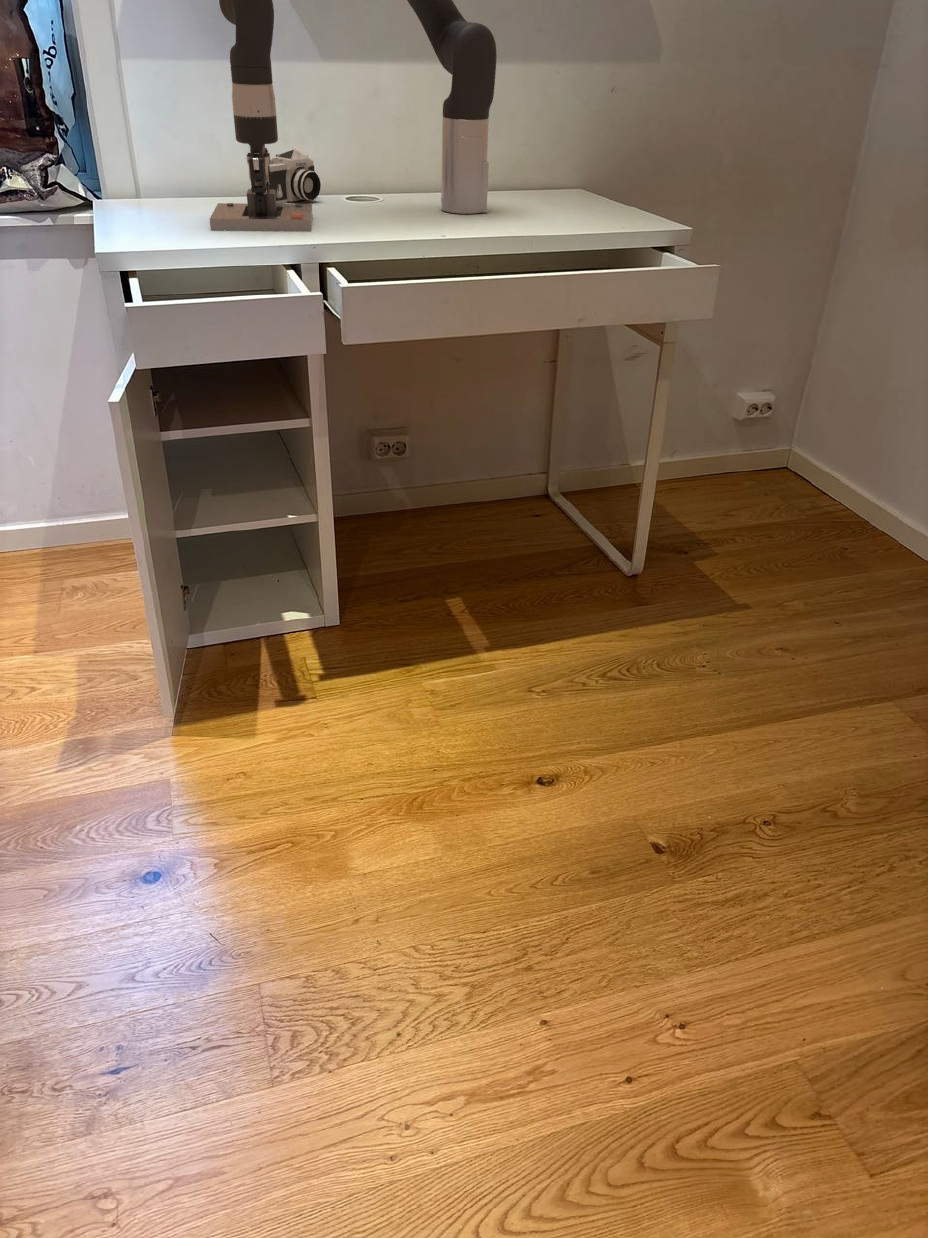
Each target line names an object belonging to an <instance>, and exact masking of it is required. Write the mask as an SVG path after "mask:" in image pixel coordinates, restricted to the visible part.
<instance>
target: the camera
mask: <svg viewBox="0 0 928 1238" xmlns="http://www.w3.org/2000/svg"><path fill="white" fill-rule="evenodd" d="M269 165H270V181H269V183H270V186H269V188H267V189H269V190H276V204H289V203H293V202H298V201H307V202H310V201H311V202H312V201H314V200H316V199H317V197H318V196H319V195H320V192H321V186H322V184H321V178H320V177H319V175H318V174H317V172H315V165H314V159H313V158H309V155H308V154H303V153H302V152H301V151H299V150H297V149H296V148H295V149H291V150H289V151H286V152H282V153H280V154H279V153H278V154H275V157H273V158H270V164H269Z"/></svg>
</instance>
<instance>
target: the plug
mask: <svg viewBox="0 0 928 1238" xmlns="http://www.w3.org/2000/svg"><path fill="white" fill-rule="evenodd" d="M255 185H256V186H262V182H256V183H255ZM266 196H267V209H268V216H267V217H277V204H276V190H267V195H266ZM246 201H247V203H246V204H248V214H249V216H256V213H255V202H254V195H253V193H252V191H251V188H248V189H247V192H246Z"/></svg>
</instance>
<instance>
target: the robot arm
mask: <svg viewBox="0 0 928 1238" xmlns="http://www.w3.org/2000/svg"><path fill="white" fill-rule="evenodd" d="M218 1H219V3H218V4H219V9H220V11H221V13H222V15H223V17H224V18H225V19H226V20H227V21H228V22H229V23H230V24H232V25H235V42H234V44H233V45H232V46H231V48H230V51H229V64H230V75H231V76H230V77H231V86H232V88H231V89H232V90H231V103H232V111H233V114H232V115H233V122H234V123H233V125H234V133H235V140H236V142H238V143H240V144H245V145H248V146H249V148H250V149H249V150H250V151H249V152H247V154H246V162H247V166H248V177H249V182H250V183H251V184H250V185H251V187H250V189H251V191H252V193H253V195H254V202H255V213H256V216H264V217H267V216H268V209H267V196H266V195H267V190H269V189H267V188H269V186H270V183H269V181H270V165H269V164H270V159H271V153H270V152H269V150H268V148H267V147H266V145H271V144H275V143H277V142H278V141H279V136H278V135H279V134H278V133H279V132H278V122H277V121H278V120H277V117H278V116H277V106H276V97H275V96H276V95H275V91H274V86H273V83H274V82H273V71H272V60H271V51H272V45H273V38H274V37H273V35H274V27H275V26H274V23H275V9H274V1H273V0H218ZM406 1H407V2H408V4H409V6H410V7H411V9H412V10H413V11H414V13H415V15H416V16H417V18H418V20H419V22H420V24H421V26H422V28H423V30H424V31H425V34H426V36H427V39H428V41H429V42H430V45H431V47H432V50H433V51H434V53H435V55H436V57H437V59H438V61H439V63H440V65H441V66H442V68H444V70H445V71H446V72H447V73H449V74H450V75H452V76H451V88H450V92H449V94H448V97H447V98H445V99H444V101H443V103H442V123H441V124H442V128H441V129H442V132H441V133H442V134H441V192H440V193H441V196H440V201H441V202H440V208H441V211H443V212H447V213H452V214H465V215H467V214H470V215H471V214H480V213H487V212H488V211H487V210H488V192H489V191H488V189H489V188H488V186H489V168H490V167H489V165H490V163H489V161H488V147H489V145H488V144H489V124H490V123H489V122H490V118H489V117H490V108H491V106H492V103H493V102H494V95H495V85H496V72H497V45H496V40H495V37H494V34H493V33H492V31H491V30H490V29H489V28H488V27H487V26H486V25H484V24H482V23H478V22H471V21H467V20H466V19H465V17H464V16H463V15H462V13H461V12H460V10H459V9H458V7H457V6H456V4H455V3H454V1H453V0H406ZM256 182H262V186H256V185H255V183H256Z"/></svg>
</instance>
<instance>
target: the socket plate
mask: <svg viewBox="0 0 928 1238" xmlns="http://www.w3.org/2000/svg"><path fill="white" fill-rule="evenodd" d="M313 216H314V215H313V203H312V204H311V203H310V204H307V203H282V204H277V217H264V216H249V214H248V203H237V202H236V203H235V202H234V203H233V202H227V203H226V202H223V203H221V202H219V203H217V205H216V206H215V208H214V210H213V212H212V214H211V215H210V217H209V225H210V226H209V227H210V231H212V232H213V231H214V232H218V231H219V232H222V231H223V232H225V231H226V232H300V233H301V232H307V233H308V232H310V233H311V232H312V226H313V219H314V217H313ZM224 230H225V231H224Z"/></svg>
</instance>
